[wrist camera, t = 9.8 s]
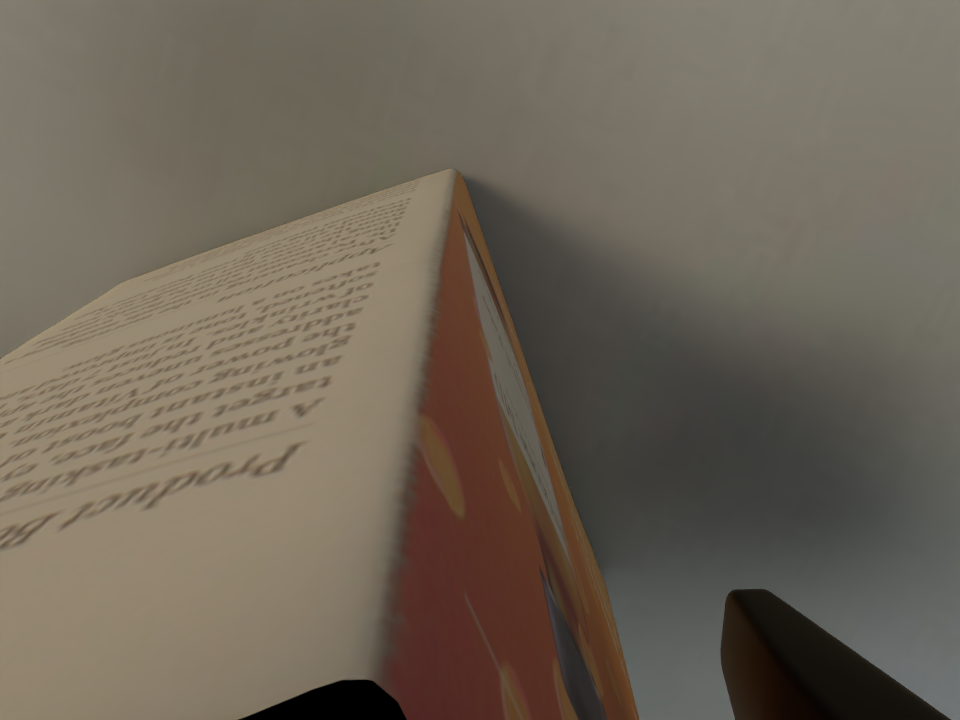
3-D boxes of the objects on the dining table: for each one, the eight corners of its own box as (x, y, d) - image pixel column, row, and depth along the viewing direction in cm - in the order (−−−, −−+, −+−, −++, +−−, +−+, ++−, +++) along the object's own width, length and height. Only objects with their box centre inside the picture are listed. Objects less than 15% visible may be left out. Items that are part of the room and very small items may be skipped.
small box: (608, 586, 14) (916, 1773, 4) (319, 667, 15) (22, 1877, 5) (463, 150, 11) (421, 747, 2) (114, 272, 12) (-1462, 1246, 2)
